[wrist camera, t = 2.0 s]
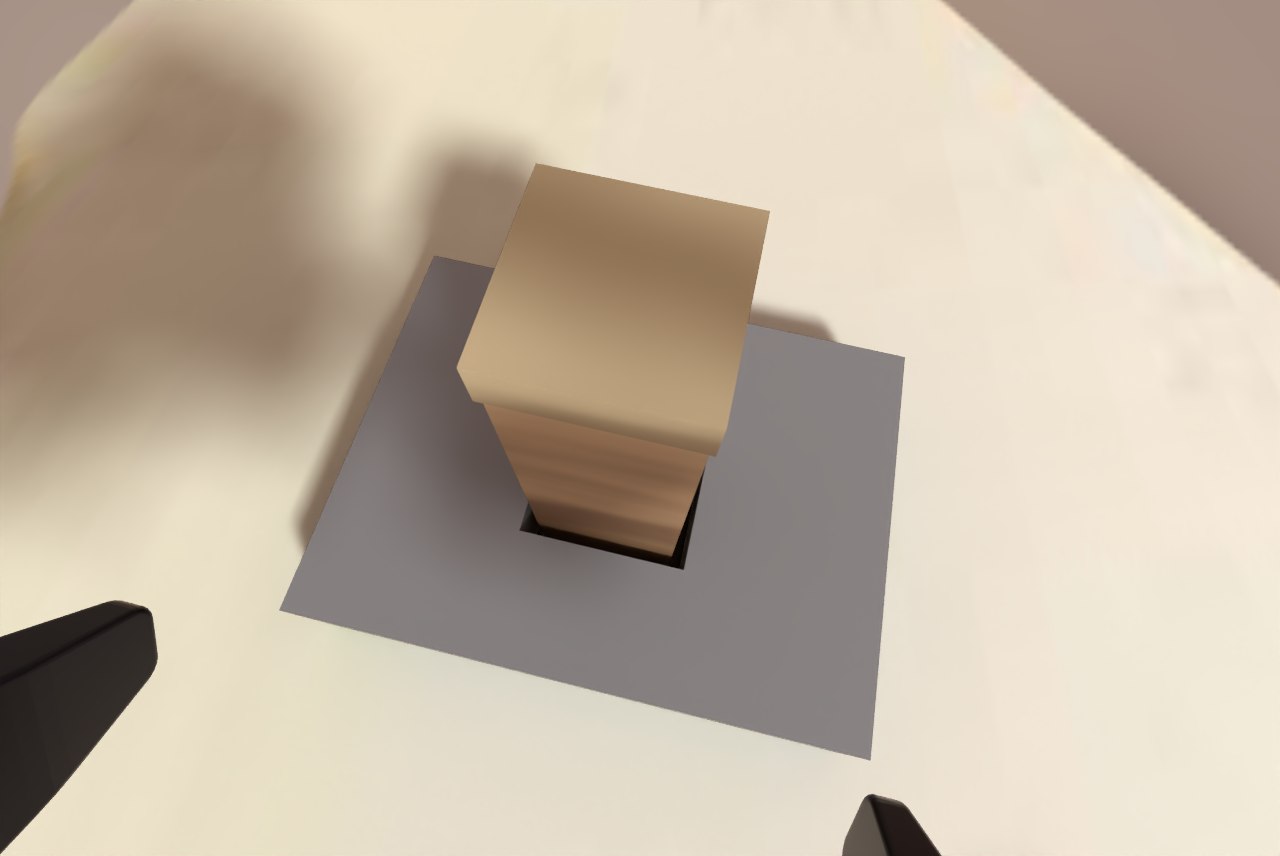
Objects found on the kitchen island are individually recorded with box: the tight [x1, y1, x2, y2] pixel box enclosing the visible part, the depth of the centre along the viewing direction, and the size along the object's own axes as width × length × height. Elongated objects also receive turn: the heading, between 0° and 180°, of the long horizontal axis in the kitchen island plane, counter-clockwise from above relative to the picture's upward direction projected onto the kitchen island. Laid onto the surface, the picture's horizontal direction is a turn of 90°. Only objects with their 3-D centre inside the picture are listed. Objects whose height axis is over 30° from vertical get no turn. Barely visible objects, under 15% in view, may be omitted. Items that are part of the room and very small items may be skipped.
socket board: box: [280, 256, 905, 760], centre depth 21 cm, size 12×16×3 cm
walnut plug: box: [457, 163, 770, 566], centre depth 16 cm, size 4×4×12 cm
